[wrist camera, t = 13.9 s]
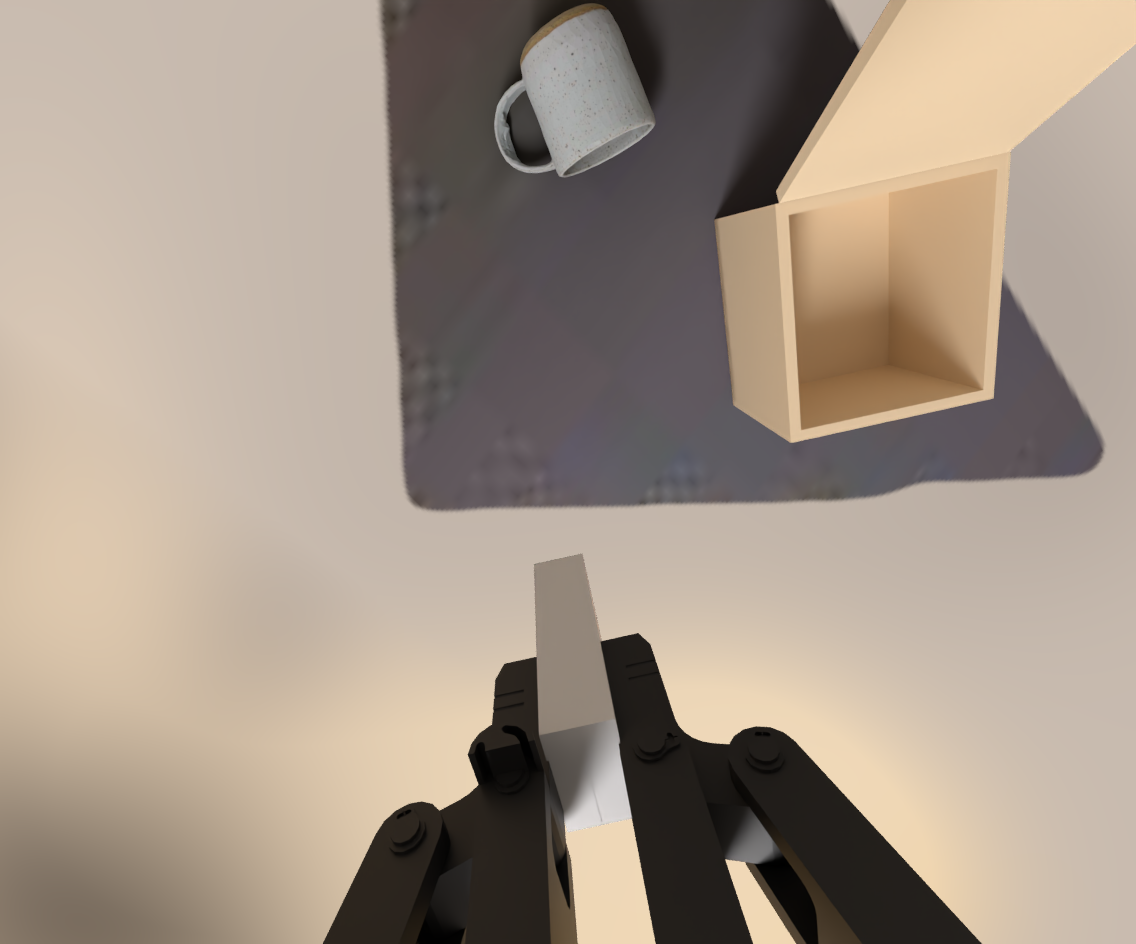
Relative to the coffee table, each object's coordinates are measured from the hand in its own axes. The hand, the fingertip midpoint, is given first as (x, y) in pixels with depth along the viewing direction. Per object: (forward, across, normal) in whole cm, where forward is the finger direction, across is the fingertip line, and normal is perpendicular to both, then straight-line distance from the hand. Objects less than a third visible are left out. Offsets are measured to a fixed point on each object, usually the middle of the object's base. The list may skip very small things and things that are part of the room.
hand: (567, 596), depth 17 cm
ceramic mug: (+35, +6, +19) cm, 40 cm away
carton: (+34, +24, +2) cm, 42 cm away
